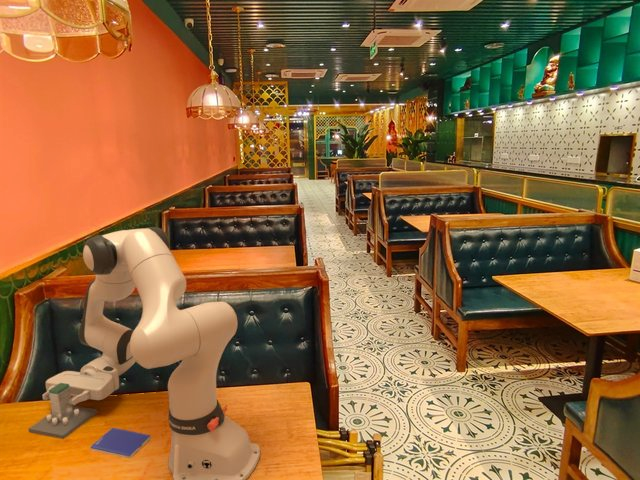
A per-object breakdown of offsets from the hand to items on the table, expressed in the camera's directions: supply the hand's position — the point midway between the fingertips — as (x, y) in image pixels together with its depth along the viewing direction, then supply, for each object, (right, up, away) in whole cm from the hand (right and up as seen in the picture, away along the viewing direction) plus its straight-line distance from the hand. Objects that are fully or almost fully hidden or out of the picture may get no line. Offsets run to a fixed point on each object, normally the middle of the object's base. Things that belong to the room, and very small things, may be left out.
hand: (57, 400), depth 120 cm
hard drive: (+21, -10, -7) cm, 24 cm away
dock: (0, -7, +2) cm, 8 cm away
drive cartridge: (0, -6, +2) cm, 7 cm away
